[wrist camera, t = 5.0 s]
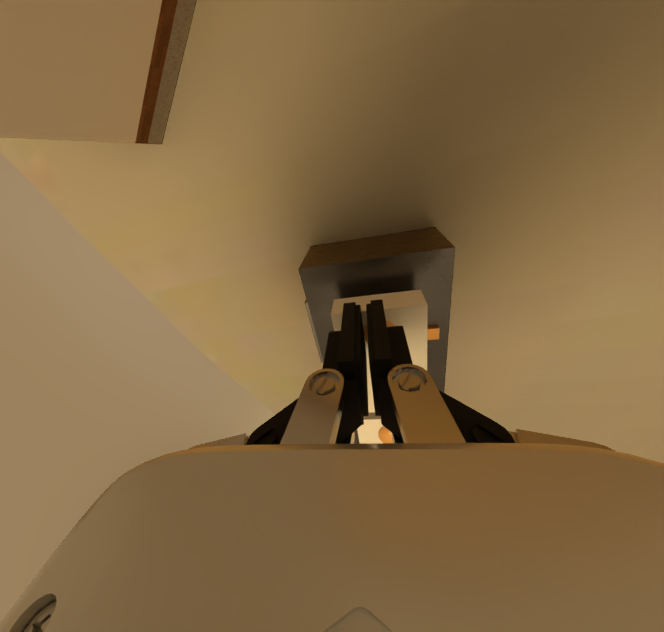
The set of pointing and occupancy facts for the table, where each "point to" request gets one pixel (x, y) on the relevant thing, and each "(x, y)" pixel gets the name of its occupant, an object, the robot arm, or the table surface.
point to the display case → (90, 68)
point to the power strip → (383, 283)
